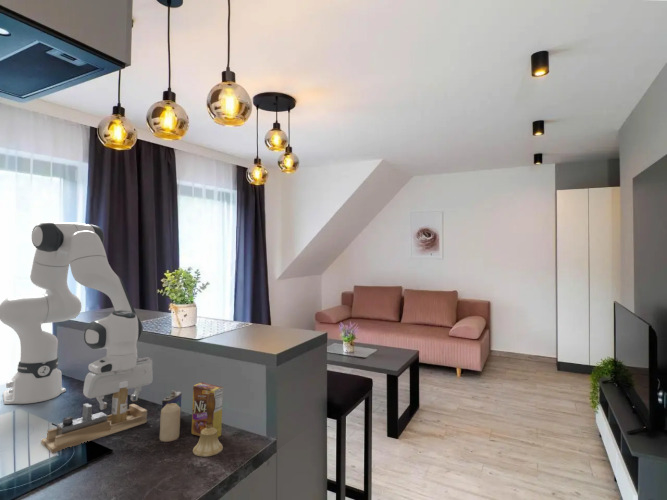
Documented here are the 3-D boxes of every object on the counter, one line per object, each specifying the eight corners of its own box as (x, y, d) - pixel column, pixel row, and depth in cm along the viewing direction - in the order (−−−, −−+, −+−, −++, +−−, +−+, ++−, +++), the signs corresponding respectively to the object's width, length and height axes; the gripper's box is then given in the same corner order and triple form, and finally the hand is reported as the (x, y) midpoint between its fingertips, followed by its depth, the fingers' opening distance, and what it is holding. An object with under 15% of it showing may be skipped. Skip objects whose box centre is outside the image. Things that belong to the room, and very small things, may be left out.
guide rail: (41, 443, 107) (42, 428, 107) (133, 415, 128) (133, 403, 128) (52, 453, 102) (53, 438, 102) (146, 422, 123) (147, 410, 123)
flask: (175, 417, 128) (177, 385, 128) (183, 418, 128) (185, 386, 128) (158, 428, 119) (160, 394, 119) (167, 429, 118) (169, 395, 119)
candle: (169, 443, 110) (171, 409, 110) (155, 439, 111) (157, 405, 112) (183, 435, 115) (184, 402, 115) (169, 432, 117) (170, 400, 117)
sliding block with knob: (56, 438, 108) (57, 410, 108) (101, 424, 118) (102, 399, 118) (61, 442, 106) (63, 413, 106) (106, 428, 115) (108, 402, 116)
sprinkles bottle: (127, 423, 120) (129, 381, 120) (110, 426, 117) (113, 383, 118) (126, 418, 123) (128, 377, 124) (110, 421, 121) (112, 379, 121)
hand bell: (207, 440, 112) (210, 386, 113) (229, 447, 109) (231, 391, 109) (186, 452, 105) (188, 395, 105) (208, 459, 101) (211, 400, 102)
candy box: (190, 434, 115) (192, 385, 116) (200, 429, 119) (202, 381, 120) (211, 441, 112) (214, 390, 112) (221, 435, 116) (224, 386, 116)
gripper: (148, 354, 131) (145, 393, 130) (82, 365, 115) (79, 411, 114) (157, 357, 127) (155, 398, 127) (91, 369, 111) (88, 416, 110)
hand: (119, 404), depth 120 cm, fingers open, 8 cm apart
